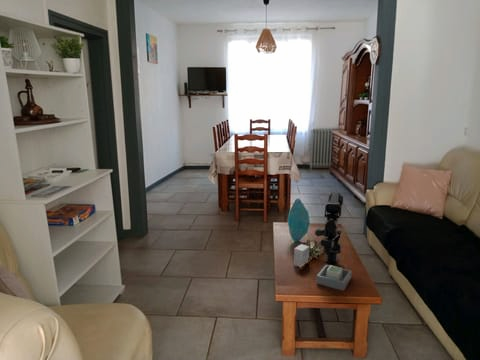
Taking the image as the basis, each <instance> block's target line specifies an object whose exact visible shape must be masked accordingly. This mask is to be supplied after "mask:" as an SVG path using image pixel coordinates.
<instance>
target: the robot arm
mask: <svg viewBox="0 0 480 360" xmlns="http://www.w3.org/2000/svg"><path fill="white" fill-rule="evenodd" d="M343 206H344V196H343V195H341V192H337V191H332V192H331V193H330V194H329V196H328V201H327V203H326V204H325V207H324V208H325V209H324V218H326V220H325V224H324V227H319V228H317V229H316V230H315V231H314V235H315V236H316V237H318V238H319V237H322V236H323V238H322V239H321V240H320V242H319V245H320V246H322V247H324V250H323V252H324V253H325V255H326V259H325V260H324V263H326V264H330V265H331V264H332V265H337V263H338V262H339V259H338V255H340V254H341V253H342V252H341V251H342V247H341V246H342V245H341V244H340V243H339V242H340V239H341V238H342V235H343V234H342V233H343V231H342V230H340V229H339V225H338V224H339V223H338V222H339V219H340V217H341V216H342V208H343Z"/></svg>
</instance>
